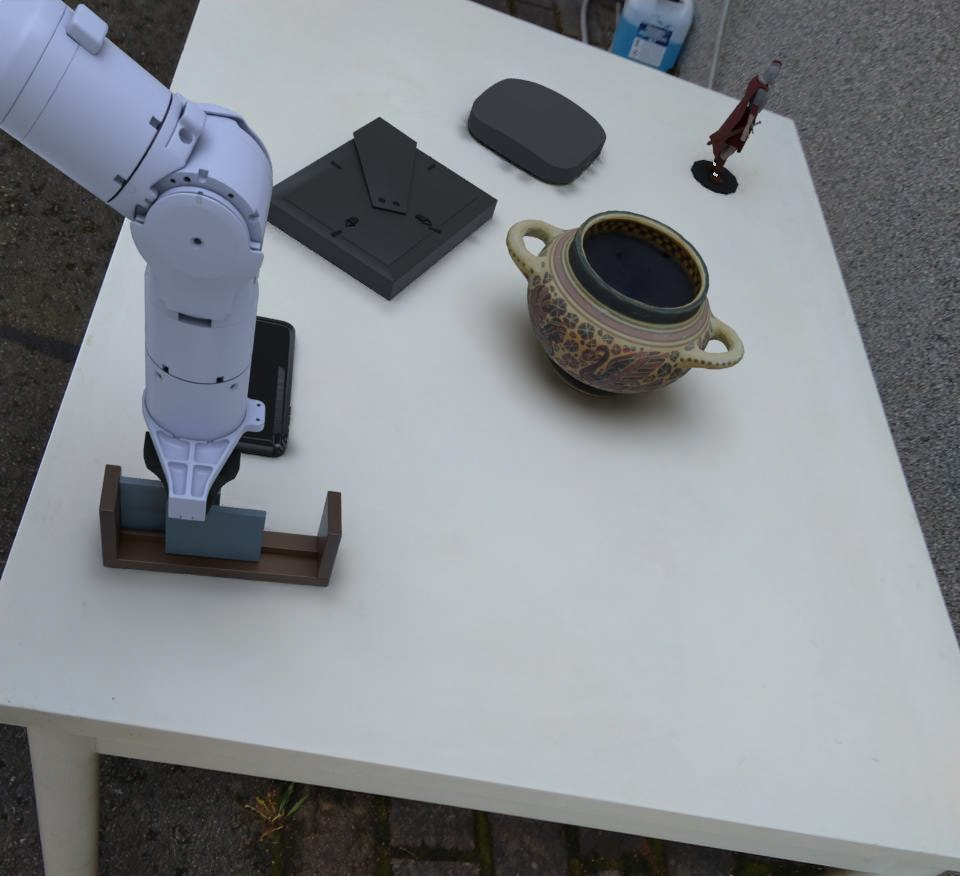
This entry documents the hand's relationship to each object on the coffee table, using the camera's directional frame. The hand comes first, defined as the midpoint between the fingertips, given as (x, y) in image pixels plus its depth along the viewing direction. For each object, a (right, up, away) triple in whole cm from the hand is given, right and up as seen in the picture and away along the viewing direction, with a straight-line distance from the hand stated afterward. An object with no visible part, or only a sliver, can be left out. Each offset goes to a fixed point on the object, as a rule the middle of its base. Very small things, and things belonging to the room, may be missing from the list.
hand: (191, 501), depth 63 cm
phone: (-1, +12, +16) cm, 20 cm away
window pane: (0, -3, +5) cm, 6 cm away
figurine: (+49, +50, +58) cm, 91 cm away
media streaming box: (+26, +51, +50) cm, 76 cm away
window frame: (0, -3, +7) cm, 7 cm away
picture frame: (+9, +34, +34) cm, 49 cm away
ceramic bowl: (+30, +18, +31) cm, 47 cm away
